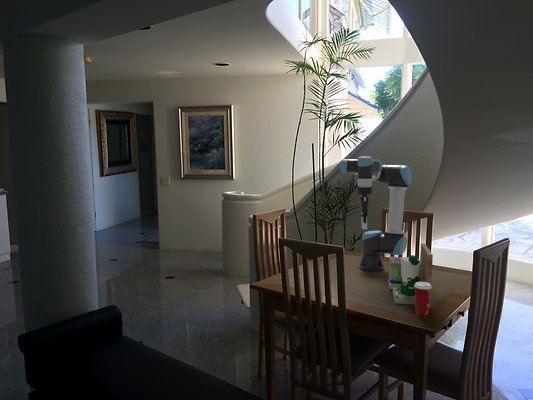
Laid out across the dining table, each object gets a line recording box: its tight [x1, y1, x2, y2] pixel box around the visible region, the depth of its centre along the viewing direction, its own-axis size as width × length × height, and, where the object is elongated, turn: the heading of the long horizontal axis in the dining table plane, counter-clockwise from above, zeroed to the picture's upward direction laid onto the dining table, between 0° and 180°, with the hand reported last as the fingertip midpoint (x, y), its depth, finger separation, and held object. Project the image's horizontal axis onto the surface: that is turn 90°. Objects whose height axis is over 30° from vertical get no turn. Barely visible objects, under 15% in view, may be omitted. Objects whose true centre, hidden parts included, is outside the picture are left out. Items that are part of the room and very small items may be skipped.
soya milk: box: [400, 254, 422, 296], centre depth 228 cm, size 9×9×20 cm
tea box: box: [387, 256, 407, 290], centre depth 249 cm, size 15×10×15 cm, turn 168°
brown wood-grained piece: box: [392, 243, 434, 309], centre depth 228 cm, size 24×16×26 cm, turn 169°
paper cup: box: [414, 282, 433, 316], centre depth 210 cm, size 8×8×14 cm
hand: (364, 226), depth 239 cm, fingers open, 13 cm apart
